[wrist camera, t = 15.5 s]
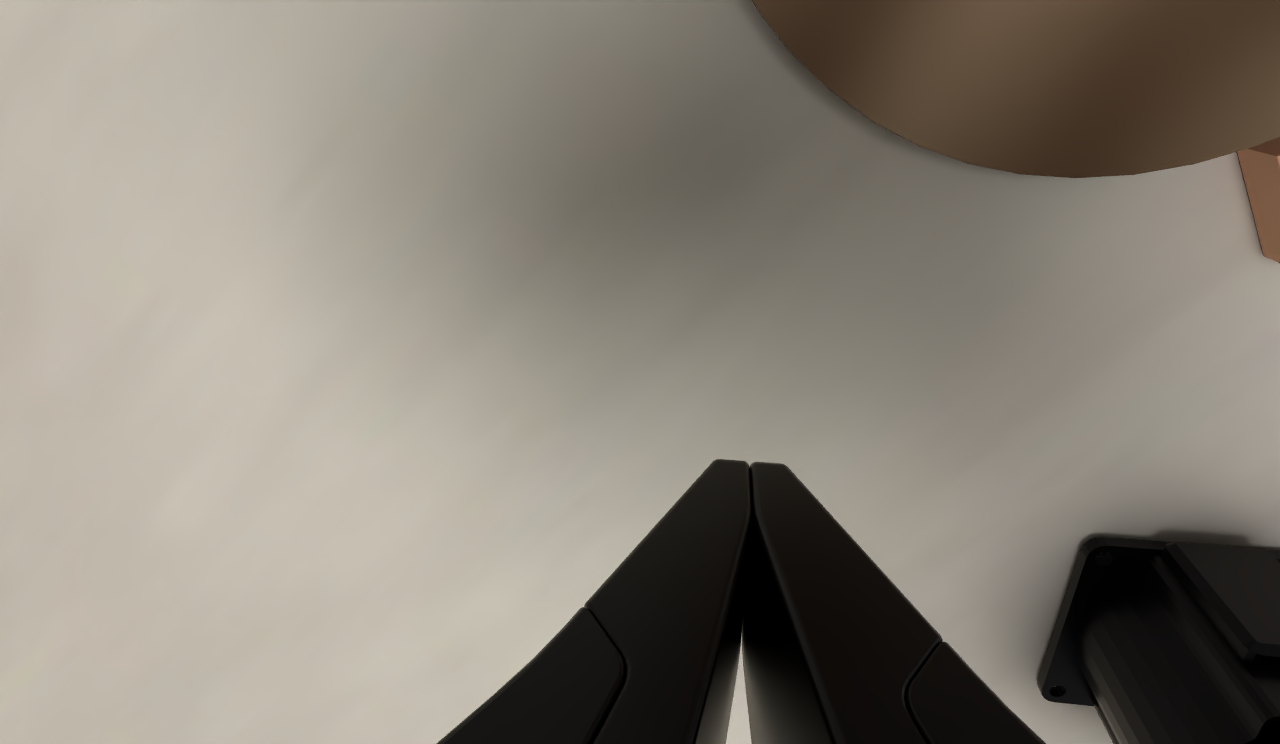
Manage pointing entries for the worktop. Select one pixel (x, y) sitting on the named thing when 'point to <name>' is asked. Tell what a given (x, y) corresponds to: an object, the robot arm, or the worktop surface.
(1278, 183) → the pointer
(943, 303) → the worktop surface
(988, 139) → the turntable
